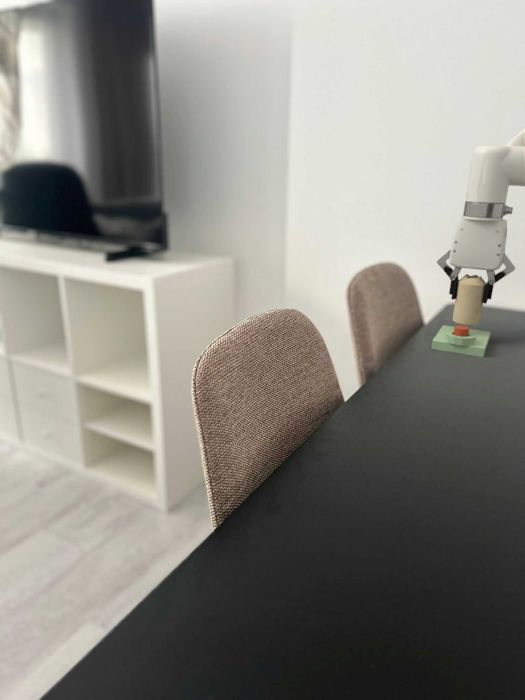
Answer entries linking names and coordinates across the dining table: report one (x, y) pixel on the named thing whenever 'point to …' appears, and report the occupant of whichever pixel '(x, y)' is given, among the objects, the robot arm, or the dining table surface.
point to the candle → (469, 300)
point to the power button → (461, 331)
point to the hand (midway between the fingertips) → (469, 299)
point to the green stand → (461, 341)
